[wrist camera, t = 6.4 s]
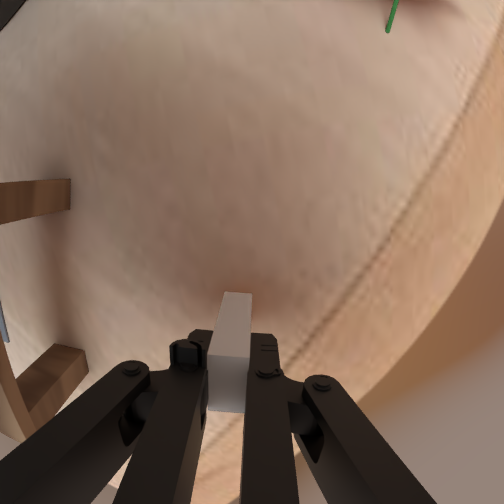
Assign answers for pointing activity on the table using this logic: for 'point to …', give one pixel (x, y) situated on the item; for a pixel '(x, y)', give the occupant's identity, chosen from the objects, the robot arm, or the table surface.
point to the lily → (391, 16)
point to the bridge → (57, 356)
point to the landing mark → (3, 327)
